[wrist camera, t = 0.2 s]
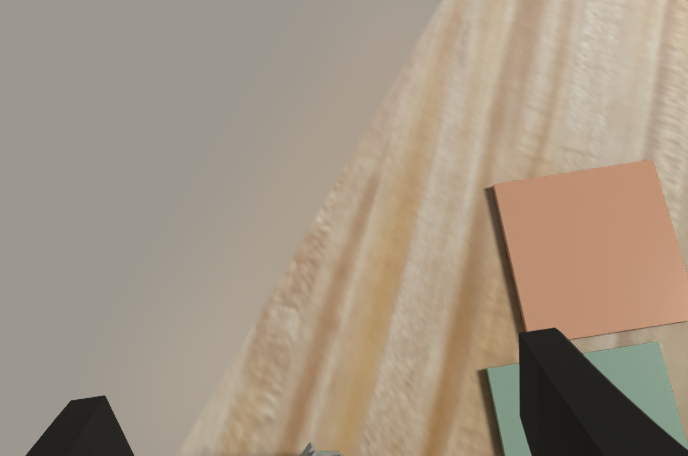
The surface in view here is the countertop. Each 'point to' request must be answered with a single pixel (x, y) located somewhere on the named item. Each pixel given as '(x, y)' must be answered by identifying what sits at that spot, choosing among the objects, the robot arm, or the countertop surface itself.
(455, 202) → the countertop surface
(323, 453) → the food container
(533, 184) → the terracotta tile
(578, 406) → the robot arm
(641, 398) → the pale green tile
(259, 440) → the countertop surface
